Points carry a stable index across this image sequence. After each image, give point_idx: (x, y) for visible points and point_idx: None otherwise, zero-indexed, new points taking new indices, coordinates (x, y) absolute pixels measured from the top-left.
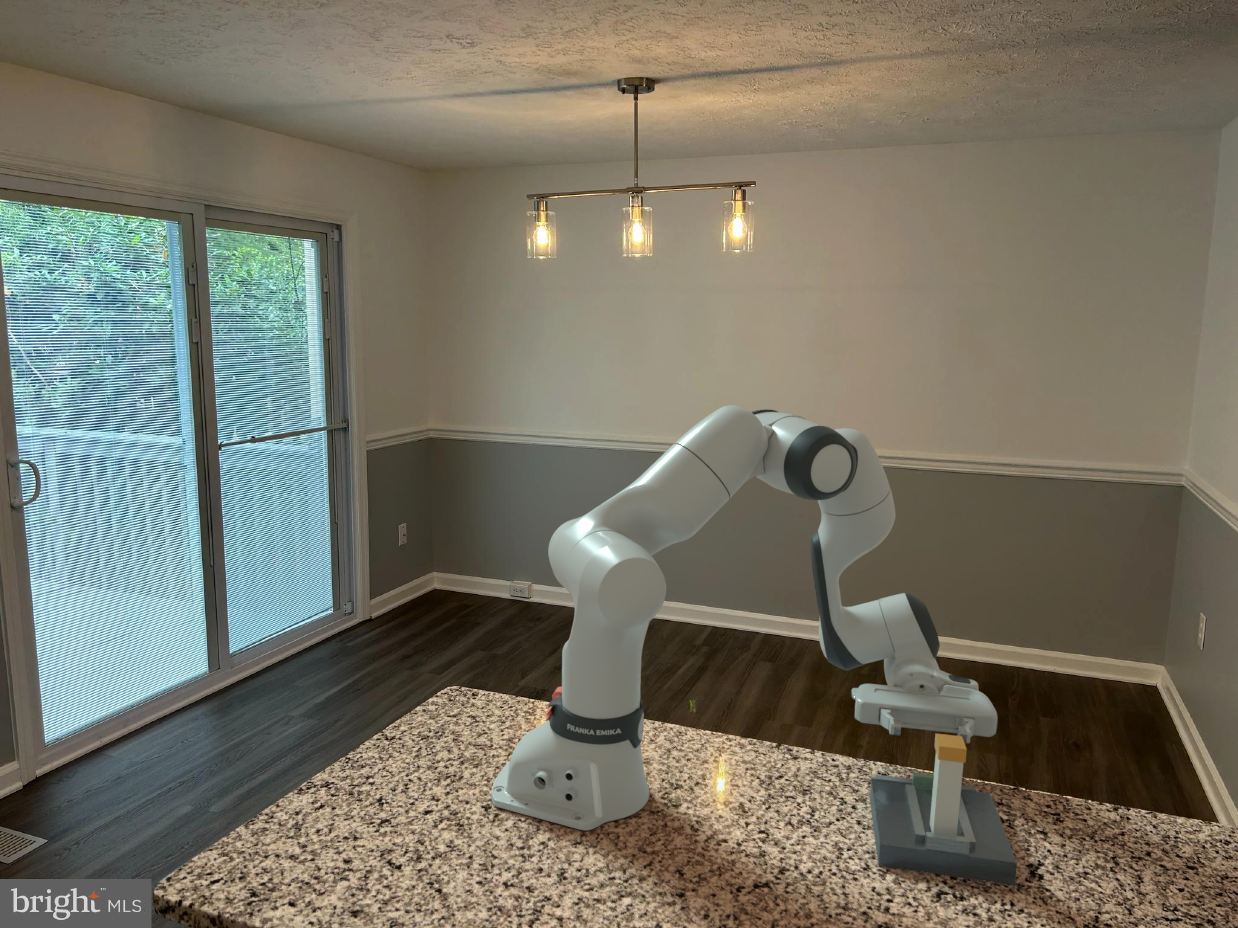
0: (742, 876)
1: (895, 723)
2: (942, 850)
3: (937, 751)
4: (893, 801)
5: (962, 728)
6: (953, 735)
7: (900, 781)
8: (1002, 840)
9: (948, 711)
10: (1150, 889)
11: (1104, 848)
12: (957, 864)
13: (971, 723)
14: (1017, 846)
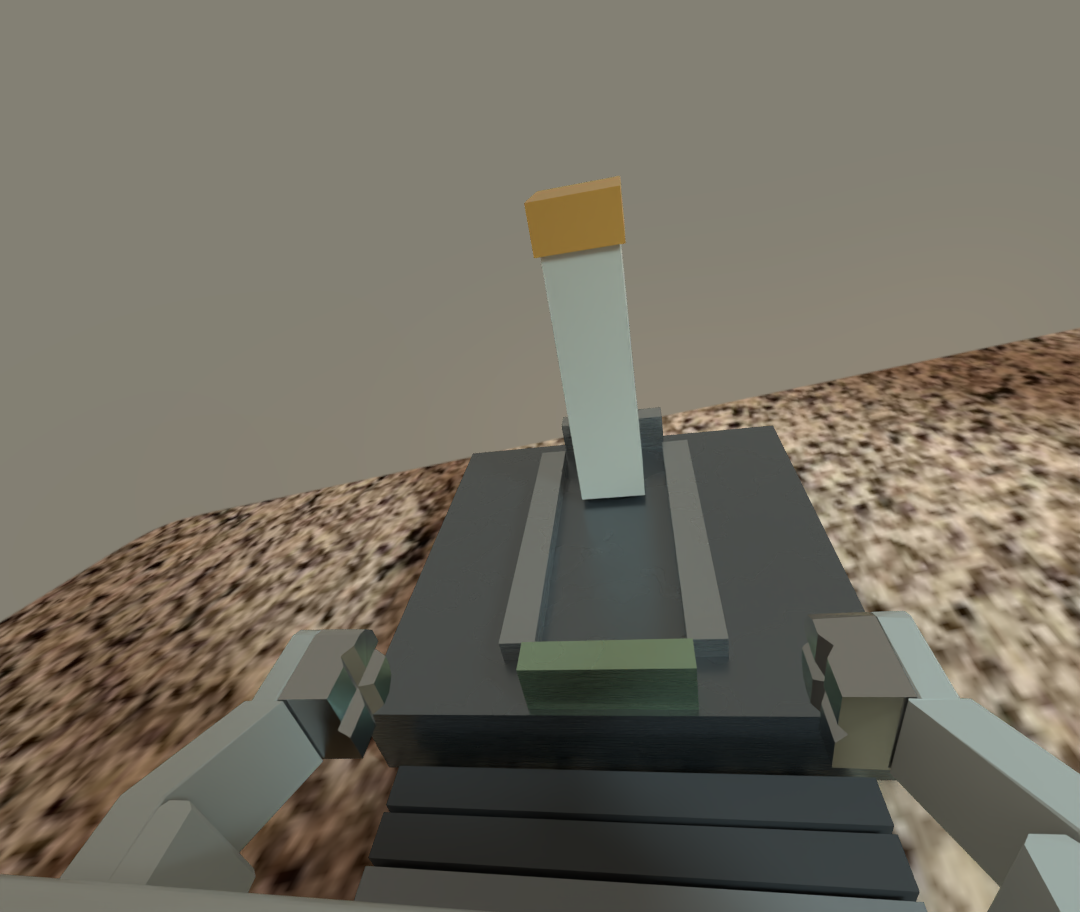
0: (1055, 397)
1: (864, 615)
2: None
3: (623, 215)
4: (766, 573)
5: (318, 667)
6: (554, 199)
7: (763, 896)
8: (467, 499)
9: (255, 903)
10: (216, 552)
11: (164, 660)
12: None
13: (176, 762)
14: (400, 616)
